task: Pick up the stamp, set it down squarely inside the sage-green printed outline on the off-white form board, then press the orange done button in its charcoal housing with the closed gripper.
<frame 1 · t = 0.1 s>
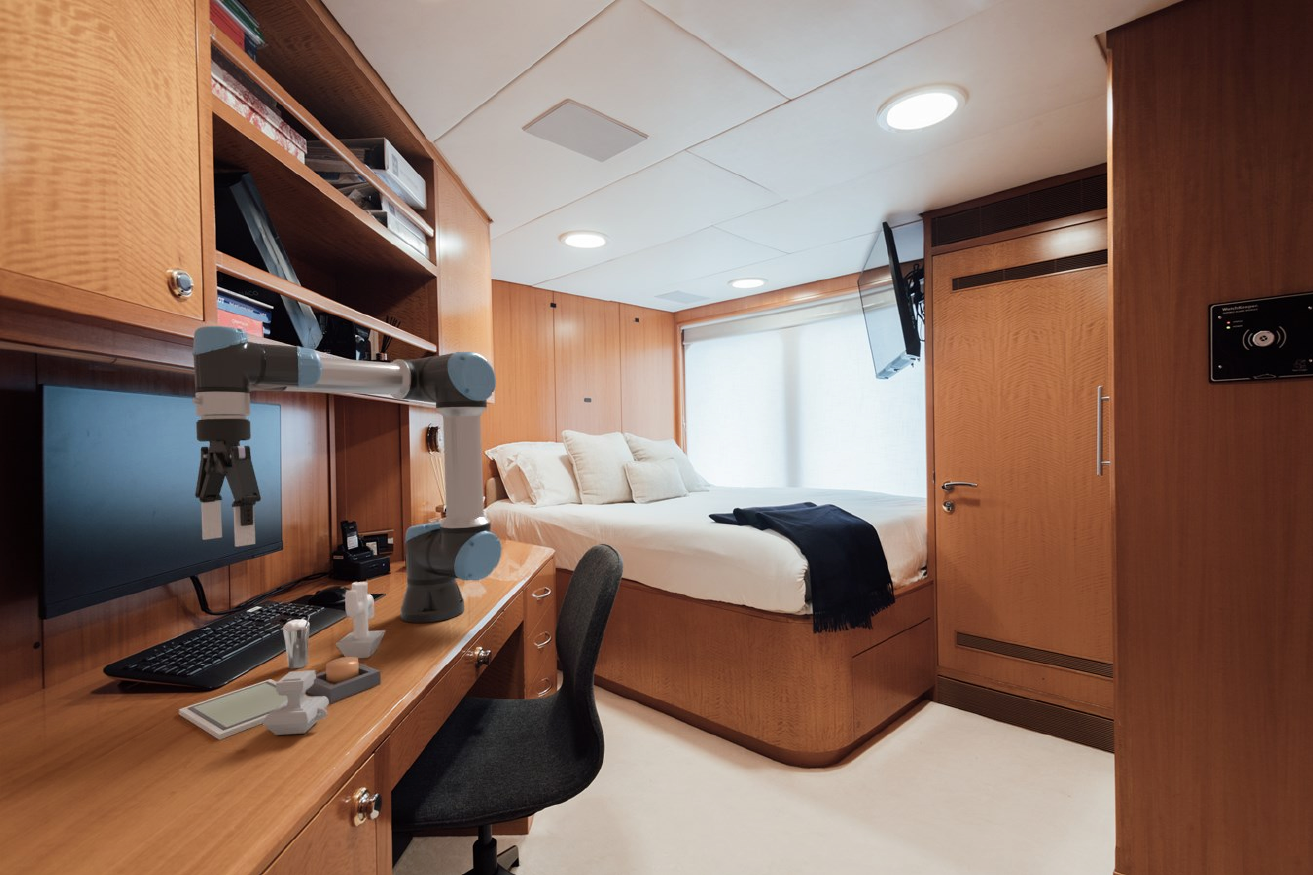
hand: (228, 541, 103), 28 cm above the table, fingers open, 13 cm apart
done button: (342, 670, 109), point 3 cm above the table, slide at 0.0 cm
button housing: (343, 687, 109), on the table
figurine: (361, 655, 125), on the table
form board: (247, 708, 101), on the table
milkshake: (299, 666, 120), on the table
stamp: (298, 730, 94), on the table
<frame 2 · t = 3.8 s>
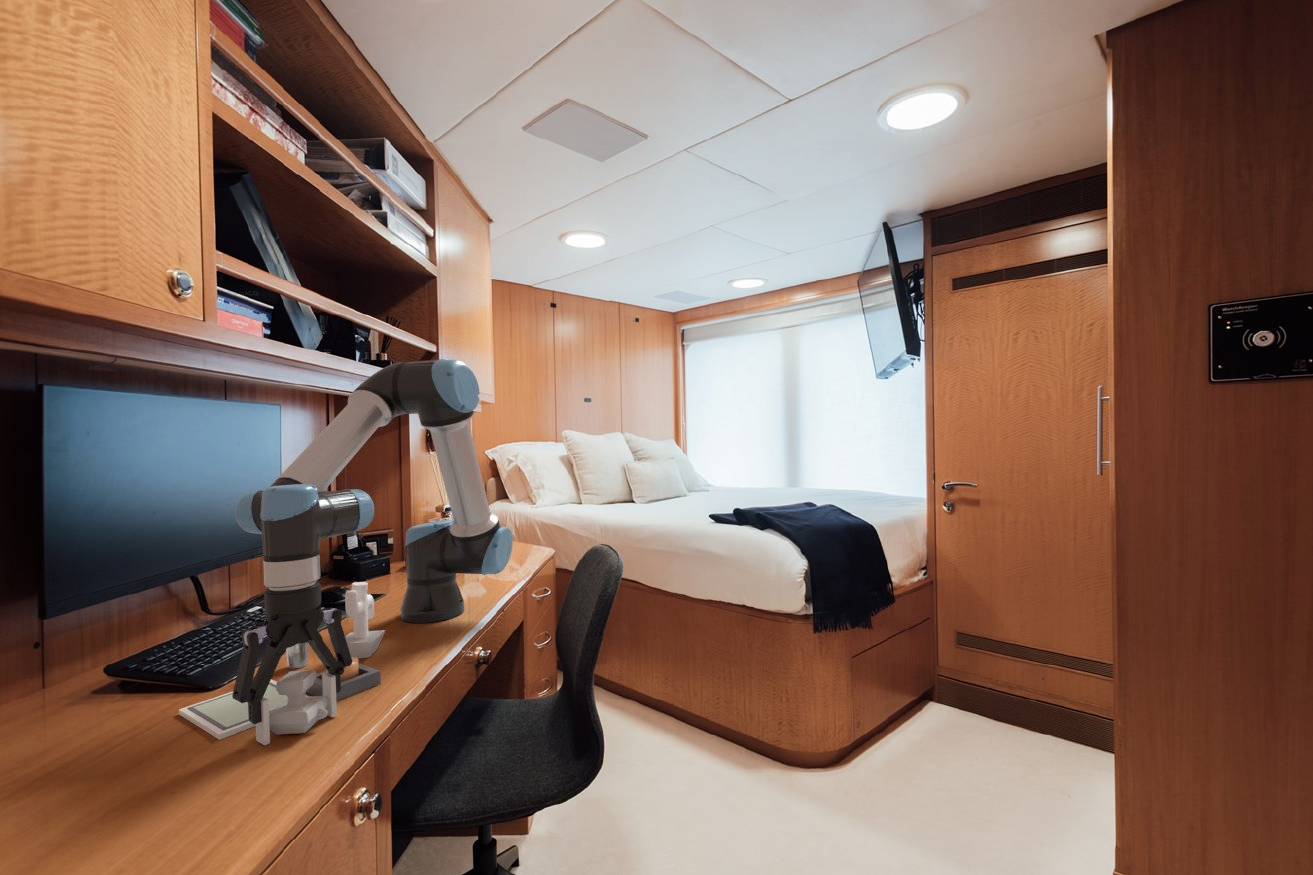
hand: (298, 727, 94), 0 cm above the table, fingers closed on stamp, 9 cm apart
stamp: (298, 730, 94), on the table, touching gripper
everything else where it was.
when the fingers open (2 cm above the table, at t = 10.1 s): stamp drops 1 cm, resting on form board.
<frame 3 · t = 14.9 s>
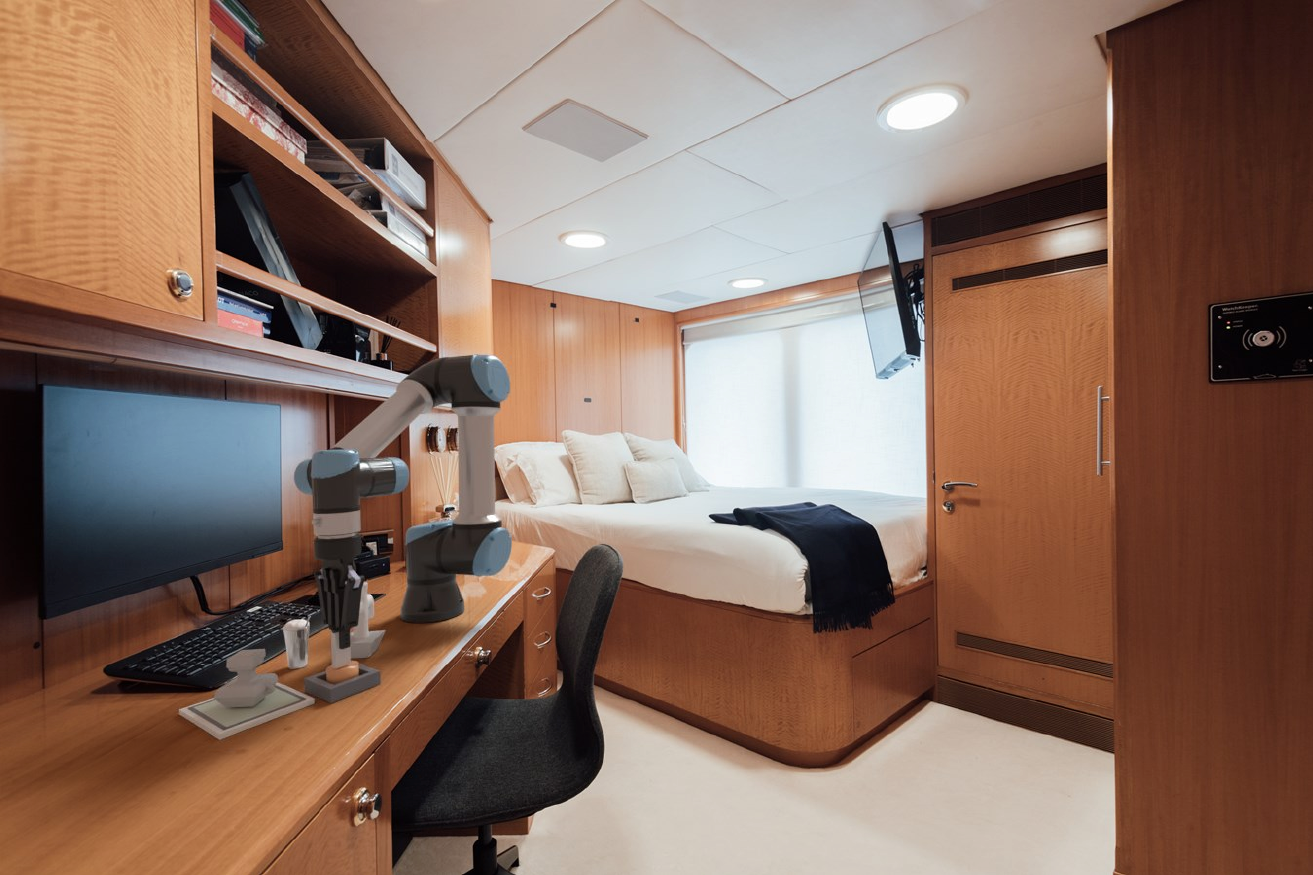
hand: (341, 664, 108), 4 cm above the table, fingers closed
done button: (342, 674, 109), point 2 cm above the table, slide at 0.7 cm, touching gripper
stamp: (247, 704, 101), point 1 cm above the table, touching form board
everything else where it was.
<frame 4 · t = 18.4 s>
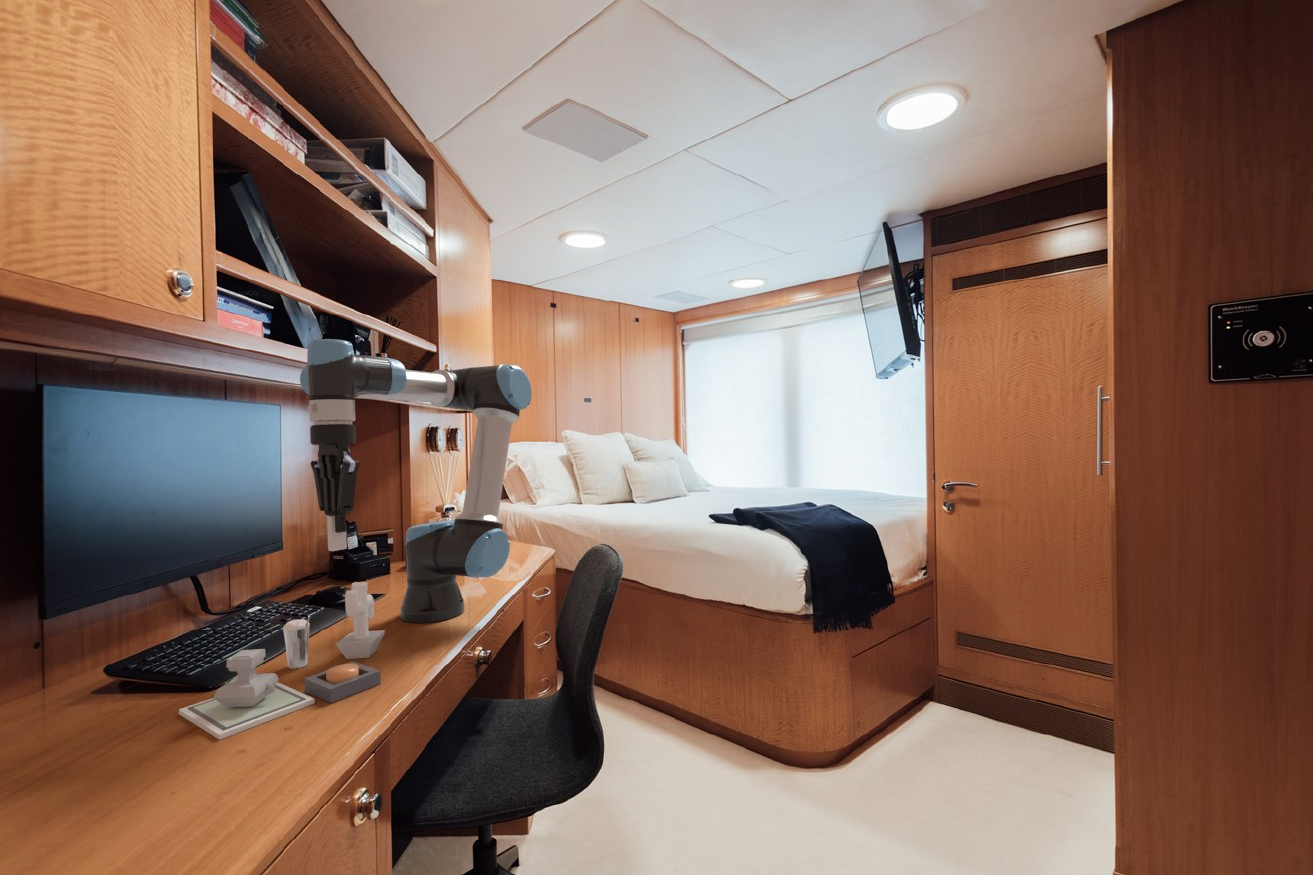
hand: (337, 549, 112), 24 cm above the table, fingers closed
done button: (342, 677, 109), point 2 cm above the table, slide at 1.3 cm
everything else where it was.
at the end: stamp 0.1 cm off-centre on the form board, point 0.7 cm above the form board's base; stamp tilted 0°; done button slide at 1.3 cm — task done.
